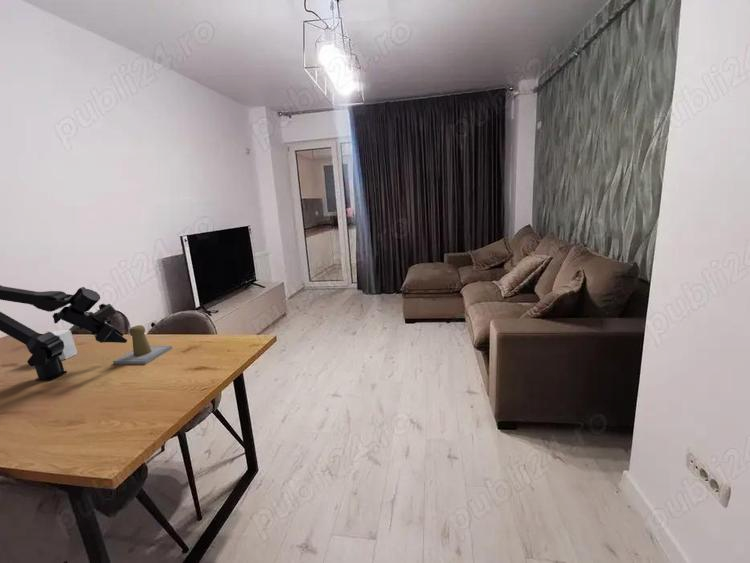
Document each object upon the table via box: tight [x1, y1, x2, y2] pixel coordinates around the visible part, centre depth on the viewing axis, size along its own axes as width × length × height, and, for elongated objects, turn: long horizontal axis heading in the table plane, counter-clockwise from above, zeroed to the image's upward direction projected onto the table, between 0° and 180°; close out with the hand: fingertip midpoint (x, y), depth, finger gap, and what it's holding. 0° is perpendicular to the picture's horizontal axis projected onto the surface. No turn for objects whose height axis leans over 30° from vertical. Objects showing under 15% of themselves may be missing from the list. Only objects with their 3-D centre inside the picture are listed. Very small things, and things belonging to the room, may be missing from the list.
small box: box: [50, 330, 78, 361], centre depth 148 cm, size 8×6×10 cm
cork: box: [128, 325, 151, 356], centre depth 142 cm, size 6×6×11 cm
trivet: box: [112, 345, 173, 365], centre depth 143 cm, size 14×14×1 cm
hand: (124, 338), depth 139 cm, fingers open, 9 cm apart
